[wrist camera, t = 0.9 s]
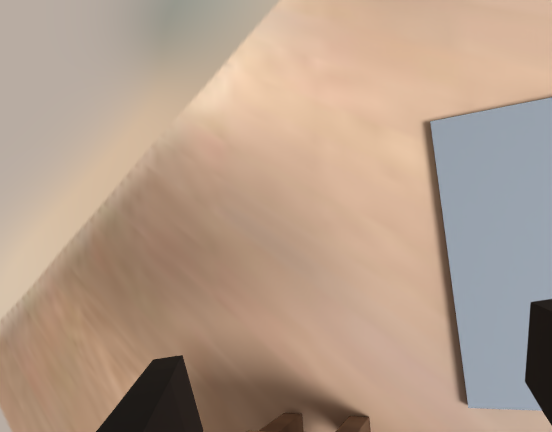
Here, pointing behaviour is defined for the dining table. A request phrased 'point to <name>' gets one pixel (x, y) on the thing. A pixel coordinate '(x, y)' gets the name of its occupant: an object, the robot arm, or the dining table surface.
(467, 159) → the felt mat
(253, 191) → the dining table surface
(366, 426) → the walnut stool
